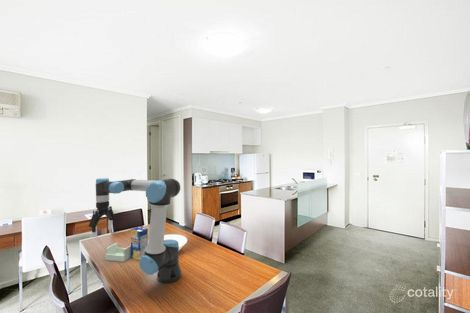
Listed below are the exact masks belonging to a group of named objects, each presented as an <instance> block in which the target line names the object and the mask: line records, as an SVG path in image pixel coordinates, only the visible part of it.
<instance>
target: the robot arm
mask: <svg viewBox="0 0 470 313" xmlns="http://www.w3.org/2000/svg"><path fill="white" fill-rule="evenodd" d="M128 191H132V192H133V191H135V192H145V197H146V199H147V201H148V203H149V205H150V206H151V209H150V210H151V212H150V220H149V221H150V222H149V228H148V246H147V247H146V248H145V252H144V255H143V256H142V257H141V258H140V260H138V264H139V268H140V269H141V271H142V272H143V273H144V274H145V275H148V276H151V275H153V274H156V273H157V274H156V276H157V277H156V279H157V281H158V282H159V283H162V284H170V283H174V282H175V281H176V282H177V281H178V280H179V279H180V278H181V277H182V268H181V266H180V263H179V261H180V260H179V255H180V254H179V251H180V250H179V248H180V247H179V246H180V243H179V241H178V240H176V239H165V232H166V223H167V222H166V221H167V211H168V207H169V205H171V200H172V199H171V198H175V197H177V196H178V195H179V194H180V191H181V183H180V182H179V181H178V180H177V179H175V178H167V179H165V178H164V179H161V180H160V179H159V180H158V179H157V180H156V179H155V180H149V179H148V180H147V179H135V178H131V179H124V180H115V181H110V179H109V178H108V177H101V178H97V179H96V180H95V202H96V203H95V208H96V210H93V211H92V215H91V218H90V221H89V224H88V227H89V228H91V233H92V238H98V226H97V225H98V223H99V222H100V219H101V218H102V217H104V216H106V217H107V219H108V220H107V222H108V224H107V225H108V226H107V228H108V231H110V230H111V231H112V230H114V229H113V224H114V220H115V219H116V216H115V213H114V211H113V207H112V206H111V205H110V194H114V195H115V194H120V193H122V192H128Z"/></svg>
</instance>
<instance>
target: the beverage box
mask: <svg viewBox="0 0 470 313" xmlns="http://www.w3.org/2000/svg"><path fill="white" fill-rule="evenodd" d="M148 240H149V228H145V227H142V226H137V227H134V228H131V229H130V245H131V258H130V259H133V260H136V261H139V260H140V258H141V257H142V256H143V255H144V252H145V248H146V247H147V246H148Z"/></svg>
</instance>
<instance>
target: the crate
mask: <svg viewBox="0 0 470 313" xmlns="http://www.w3.org/2000/svg"><path fill="white" fill-rule="evenodd" d="M105 253H106V254H105V257H104V258H105V259H104V260H105V261H106V262H107V261H108V262H115V263H117V262H118V263H125V262H126V261H128V260H129V259H132V258H131V244H130V245H128V246H127V247H119V244H118V241H117V242H115V243H113V244H111V245H110V246H107V247H106V248H105Z"/></svg>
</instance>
